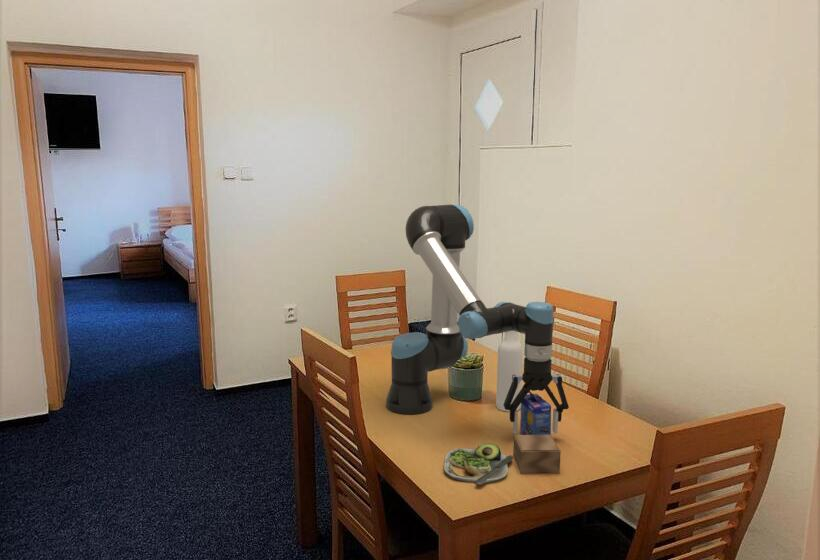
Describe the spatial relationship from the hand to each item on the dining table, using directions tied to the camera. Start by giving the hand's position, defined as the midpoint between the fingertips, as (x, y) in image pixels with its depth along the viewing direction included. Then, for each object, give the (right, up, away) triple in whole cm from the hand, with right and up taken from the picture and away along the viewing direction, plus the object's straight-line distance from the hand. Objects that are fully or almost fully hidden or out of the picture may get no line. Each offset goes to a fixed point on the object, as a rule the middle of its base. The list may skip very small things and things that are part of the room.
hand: (534, 432), depth 183 cm
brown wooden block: (-3, -5, -14) cm, 15 cm away
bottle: (-4, +2, +25) cm, 25 cm away
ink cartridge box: (0, -3, 0) cm, 3 cm away
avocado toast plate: (-18, -6, -16) cm, 25 cm away
